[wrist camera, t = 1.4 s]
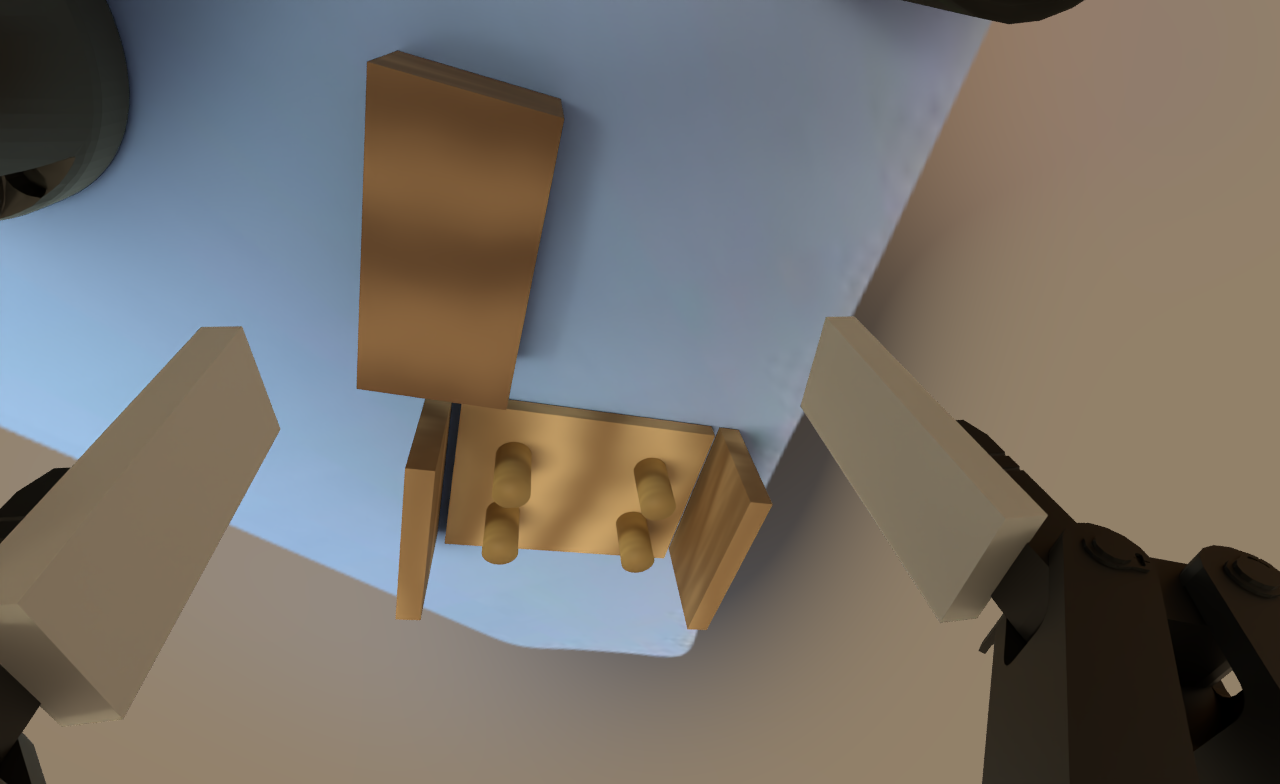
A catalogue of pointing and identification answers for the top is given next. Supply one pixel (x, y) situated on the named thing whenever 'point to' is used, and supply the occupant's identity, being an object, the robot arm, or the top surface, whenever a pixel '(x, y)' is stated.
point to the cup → (1003, 8)
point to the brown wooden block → (449, 227)
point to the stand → (582, 495)
